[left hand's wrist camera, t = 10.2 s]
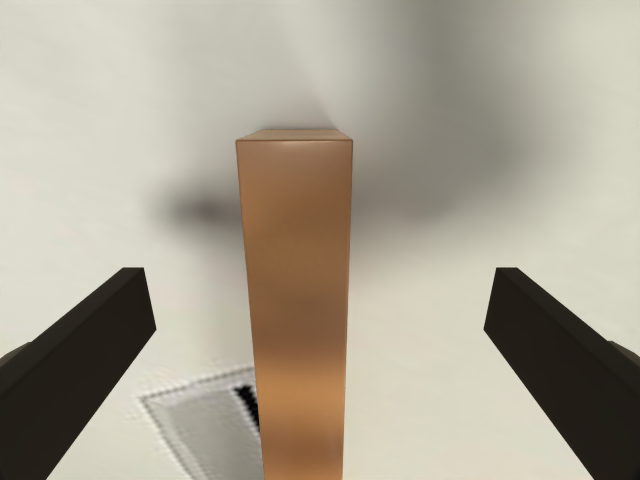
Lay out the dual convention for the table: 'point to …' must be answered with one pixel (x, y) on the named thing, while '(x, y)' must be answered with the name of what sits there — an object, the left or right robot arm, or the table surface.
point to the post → (298, 293)
